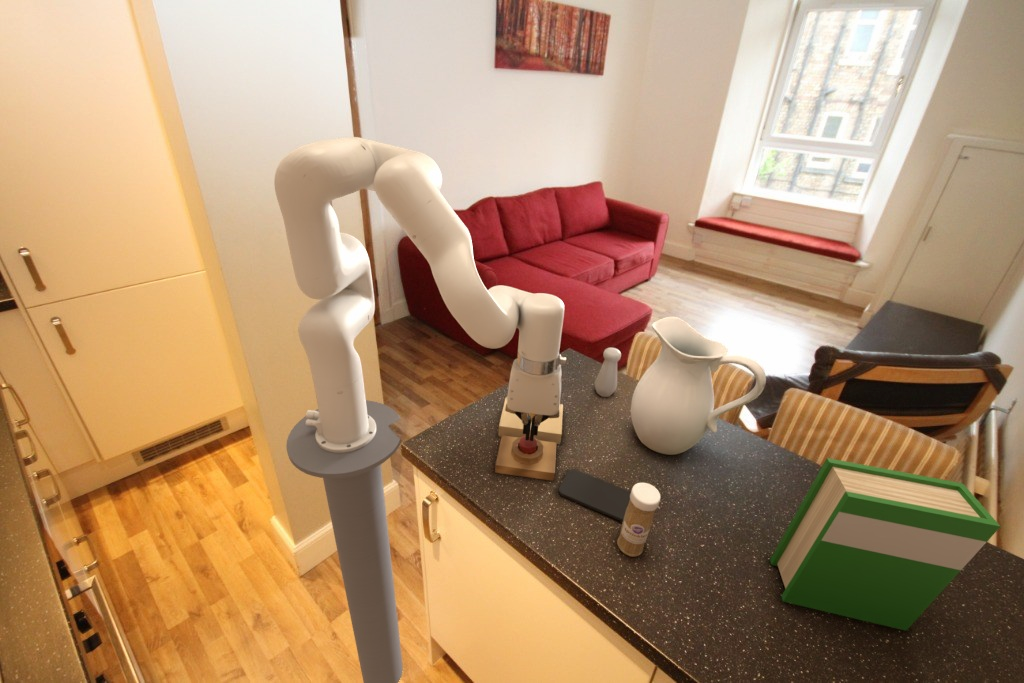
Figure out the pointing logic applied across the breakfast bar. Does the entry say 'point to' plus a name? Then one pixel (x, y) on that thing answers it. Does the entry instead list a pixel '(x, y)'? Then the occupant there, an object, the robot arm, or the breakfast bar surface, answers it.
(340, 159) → the robot arm
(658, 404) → the pitcher
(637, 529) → the sprinkles bottle
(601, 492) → the phone
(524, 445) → the bell button
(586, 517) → the breakfast bar surface
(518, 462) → the wooden button base
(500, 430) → the dial plate
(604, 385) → the salt shaker
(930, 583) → the hardback book
